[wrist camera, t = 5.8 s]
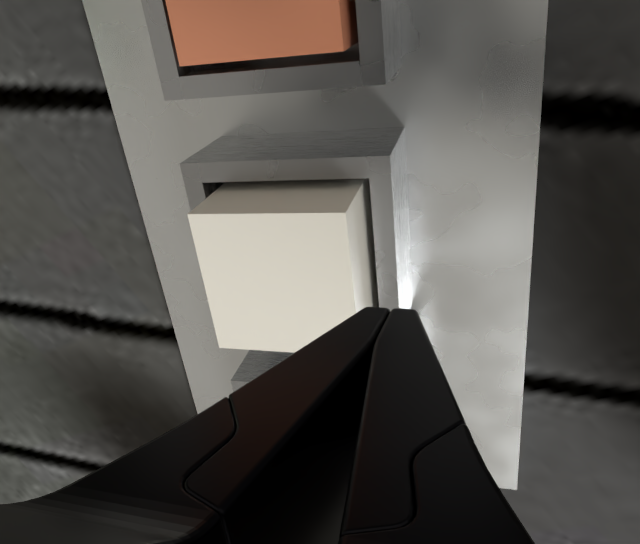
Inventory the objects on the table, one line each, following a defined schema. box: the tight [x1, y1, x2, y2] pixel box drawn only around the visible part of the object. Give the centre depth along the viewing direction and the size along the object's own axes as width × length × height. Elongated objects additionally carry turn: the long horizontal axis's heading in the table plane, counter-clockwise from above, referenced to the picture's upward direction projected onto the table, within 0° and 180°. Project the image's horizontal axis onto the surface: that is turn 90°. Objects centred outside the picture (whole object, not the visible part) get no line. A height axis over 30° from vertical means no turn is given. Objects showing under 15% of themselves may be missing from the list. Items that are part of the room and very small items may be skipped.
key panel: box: [82, 0, 548, 490], centre depth 19 cm, size 14×24×4 cm, turn 7°
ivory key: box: [187, 178, 378, 353], centre depth 17 cm, size 4×4×3 cm
